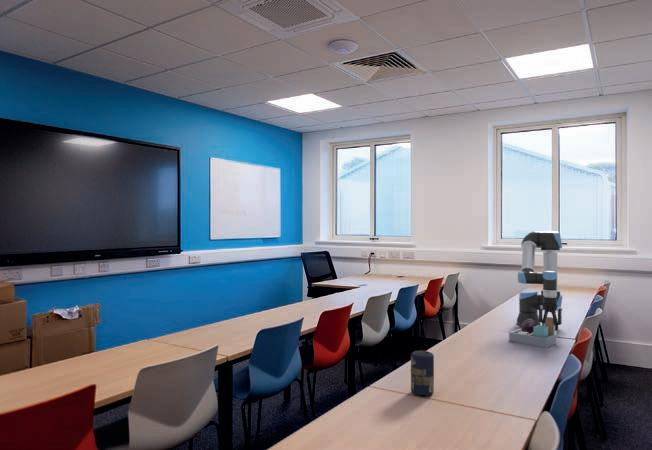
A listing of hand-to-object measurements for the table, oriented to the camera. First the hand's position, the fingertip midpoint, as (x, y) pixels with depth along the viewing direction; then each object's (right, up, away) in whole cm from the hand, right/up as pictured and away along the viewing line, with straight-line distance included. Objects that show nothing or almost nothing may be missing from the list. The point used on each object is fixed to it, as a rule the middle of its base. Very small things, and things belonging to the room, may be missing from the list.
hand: (550, 335), depth 274 cm
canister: (-95, -4, -84) cm, 127 cm away
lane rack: (-13, -3, -5) cm, 14 cm away
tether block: (-5, -2, -5) cm, 7 cm away
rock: (-6, -3, +16) cm, 17 cm away
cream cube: (-18, -3, -3) cm, 18 cm away
